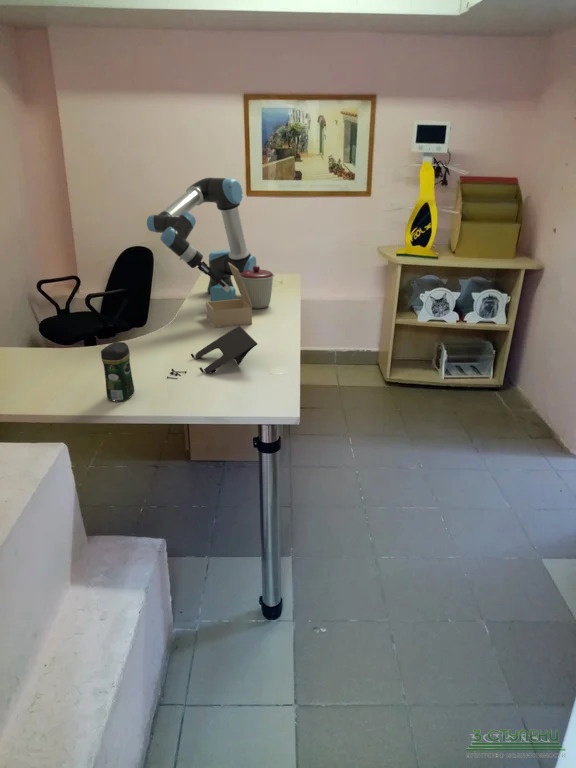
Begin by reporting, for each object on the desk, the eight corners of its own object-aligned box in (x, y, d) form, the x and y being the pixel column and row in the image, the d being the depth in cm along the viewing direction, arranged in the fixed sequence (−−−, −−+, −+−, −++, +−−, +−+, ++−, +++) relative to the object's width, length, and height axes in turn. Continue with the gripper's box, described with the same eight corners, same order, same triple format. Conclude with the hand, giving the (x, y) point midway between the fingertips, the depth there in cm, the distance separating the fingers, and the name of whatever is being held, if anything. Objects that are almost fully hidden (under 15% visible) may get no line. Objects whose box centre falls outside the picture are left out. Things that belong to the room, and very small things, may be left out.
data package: (236, 309, 288) (235, 286, 283) (232, 312, 284) (231, 288, 279) (214, 307, 291) (213, 284, 287) (210, 310, 288) (209, 286, 283)
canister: (252, 313, 283) (252, 271, 274) (232, 305, 295) (231, 264, 287) (281, 307, 293) (281, 266, 284) (260, 299, 306) (260, 260, 297)
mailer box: (206, 318, 275) (206, 301, 272) (242, 314, 280) (242, 298, 277) (214, 327, 261) (213, 310, 258) (252, 323, 267) (251, 307, 263)
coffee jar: (116, 389, 197) (109, 339, 190) (137, 391, 196) (132, 340, 188) (103, 401, 188) (95, 349, 181) (125, 403, 187) (119, 350, 180)
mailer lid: (228, 262, 268) (229, 262, 268) (241, 297, 277) (243, 297, 277) (237, 270, 254) (238, 269, 254) (251, 306, 263) (252, 305, 263)
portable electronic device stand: (199, 369, 231) (188, 351, 226) (247, 339, 233) (237, 321, 229) (213, 390, 211) (201, 372, 207) (265, 358, 214) (254, 338, 209)
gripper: (183, 259, 259) (220, 292, 271) (188, 265, 247) (227, 299, 259) (193, 247, 258) (230, 280, 270) (199, 252, 247) (238, 287, 259)
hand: (229, 290), depth 265 cm, fingers closed
